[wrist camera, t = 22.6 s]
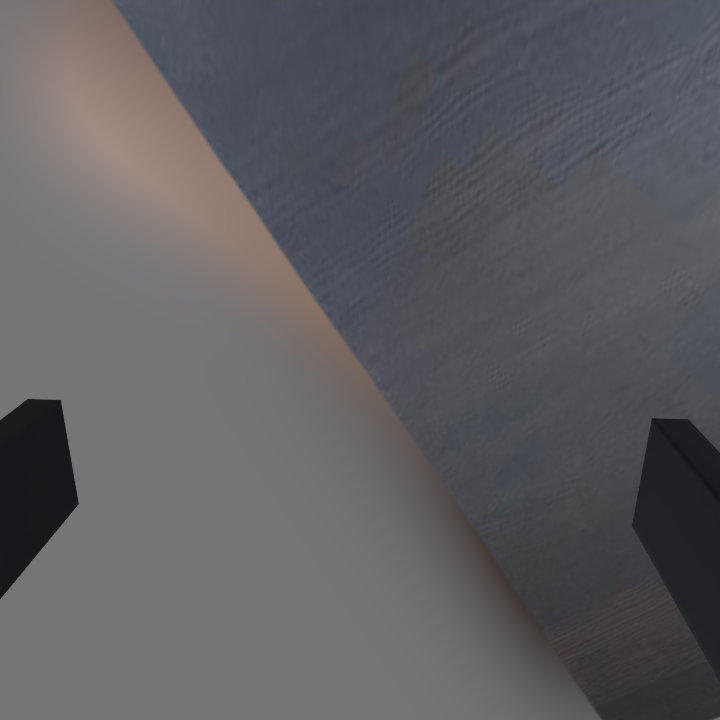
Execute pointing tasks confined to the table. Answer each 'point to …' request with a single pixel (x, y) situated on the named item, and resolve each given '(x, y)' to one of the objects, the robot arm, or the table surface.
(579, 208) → the table surface
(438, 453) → the table surface
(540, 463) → the table surface
